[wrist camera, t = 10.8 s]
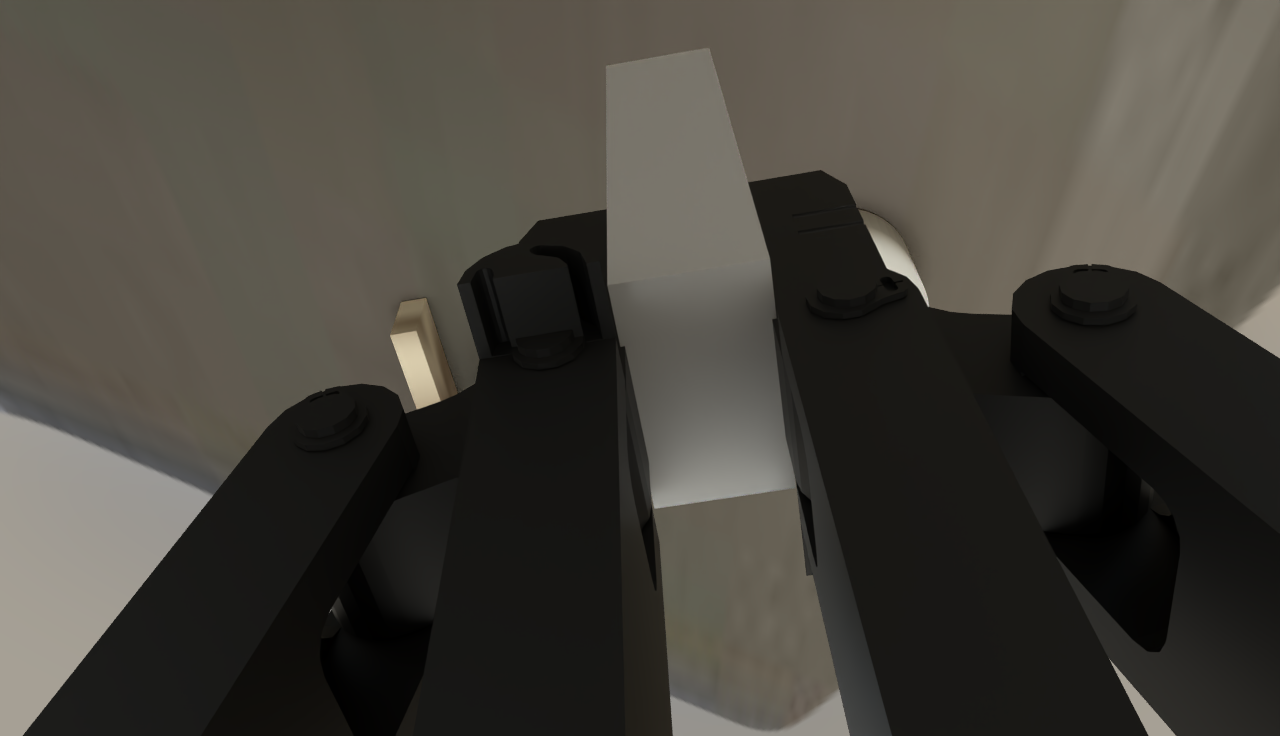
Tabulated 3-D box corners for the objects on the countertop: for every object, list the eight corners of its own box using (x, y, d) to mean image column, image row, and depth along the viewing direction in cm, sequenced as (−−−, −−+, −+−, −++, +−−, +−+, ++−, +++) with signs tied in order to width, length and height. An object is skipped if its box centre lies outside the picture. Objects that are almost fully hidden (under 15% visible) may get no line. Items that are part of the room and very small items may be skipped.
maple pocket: (401, 302, 49) (390, 335, 47) (661, 257, 48) (664, 288, 46) (459, 469, 55) (452, 507, 52) (694, 431, 54) (698, 468, 51)
